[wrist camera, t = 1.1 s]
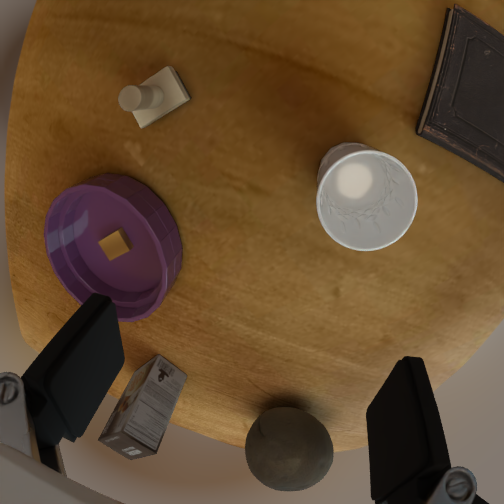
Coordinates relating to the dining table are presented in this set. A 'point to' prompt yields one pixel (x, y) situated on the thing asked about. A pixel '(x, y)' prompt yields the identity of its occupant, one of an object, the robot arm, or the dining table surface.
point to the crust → (115, 244)
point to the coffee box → (144, 409)
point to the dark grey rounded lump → (288, 449)
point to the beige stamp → (154, 96)
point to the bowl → (102, 224)
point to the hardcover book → (467, 93)
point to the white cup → (364, 196)
